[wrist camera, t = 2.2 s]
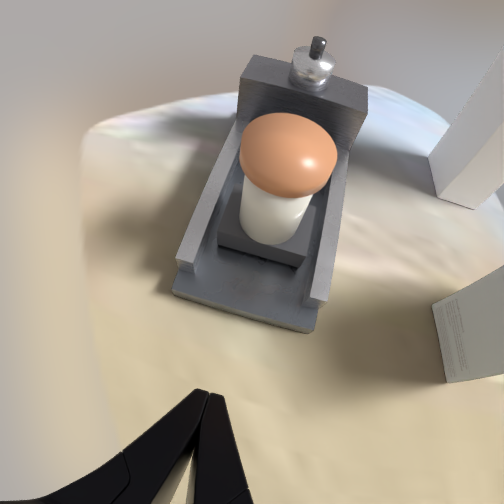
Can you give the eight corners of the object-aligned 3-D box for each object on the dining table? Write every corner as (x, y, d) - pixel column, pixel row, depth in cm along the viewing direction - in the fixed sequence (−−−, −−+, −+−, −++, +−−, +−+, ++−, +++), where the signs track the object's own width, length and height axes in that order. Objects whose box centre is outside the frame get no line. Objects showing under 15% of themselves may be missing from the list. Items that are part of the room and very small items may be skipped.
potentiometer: (325, 96, 22) (339, 55, 18) (284, 84, 22) (294, 41, 18) (329, 76, 23) (342, 38, 19) (292, 65, 23) (301, 26, 19)
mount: (307, 334, 22) (350, 305, 15) (173, 295, 22) (154, 248, 15) (341, 140, 31) (367, 81, 23) (248, 113, 31) (256, 49, 24)
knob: (298, 273, 22) (344, 200, 14) (215, 249, 22) (215, 163, 14) (310, 216, 24) (351, 132, 16) (234, 194, 24) (244, 101, 16)
